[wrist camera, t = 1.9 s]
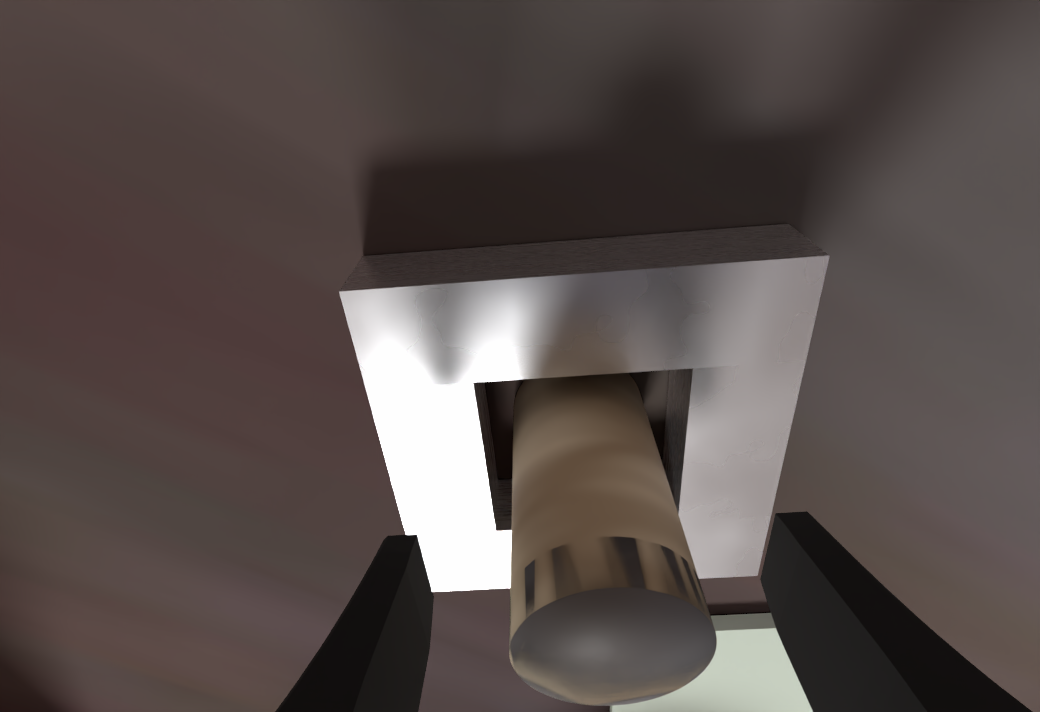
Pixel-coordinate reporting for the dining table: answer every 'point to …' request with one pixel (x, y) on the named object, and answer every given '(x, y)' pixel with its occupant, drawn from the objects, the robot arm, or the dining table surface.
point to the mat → (737, 674)
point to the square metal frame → (587, 351)
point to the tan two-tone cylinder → (598, 550)
